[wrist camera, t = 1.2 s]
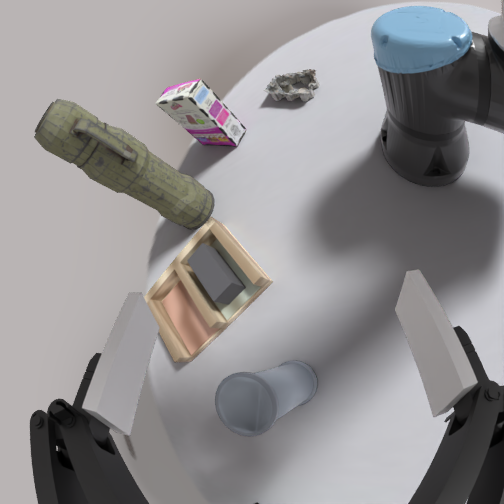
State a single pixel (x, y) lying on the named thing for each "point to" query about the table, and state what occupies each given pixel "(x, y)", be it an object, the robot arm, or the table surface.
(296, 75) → the egg carton
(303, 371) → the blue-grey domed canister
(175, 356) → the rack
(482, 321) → the table surface
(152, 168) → the thermos
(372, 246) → the table surface
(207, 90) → the candy bar box
